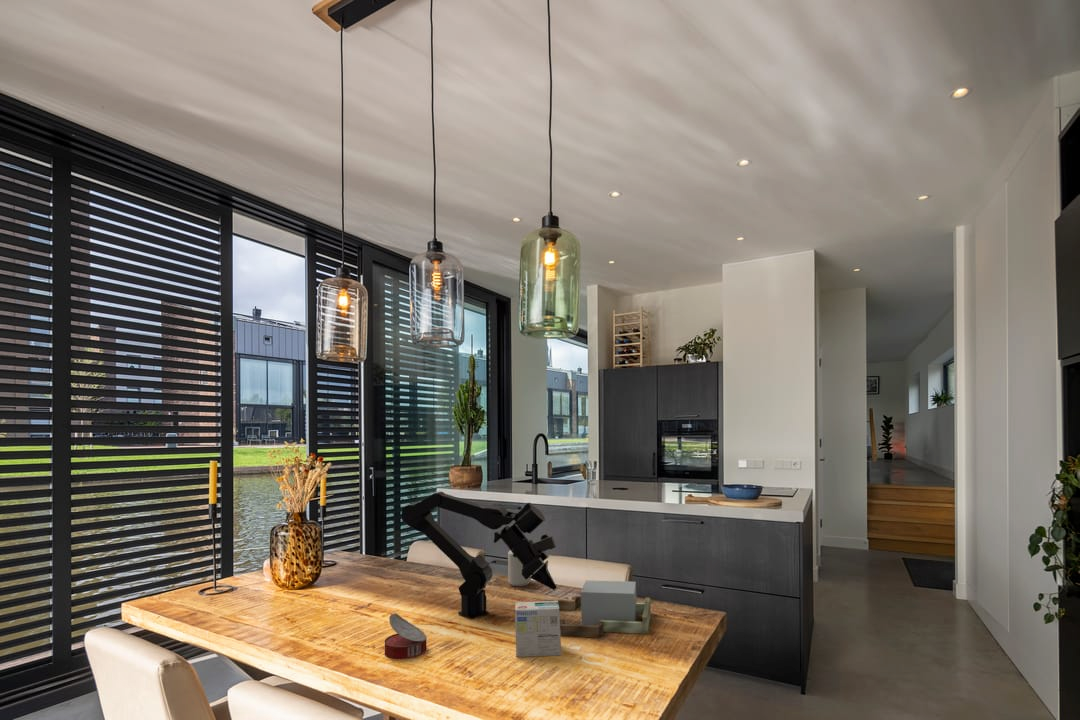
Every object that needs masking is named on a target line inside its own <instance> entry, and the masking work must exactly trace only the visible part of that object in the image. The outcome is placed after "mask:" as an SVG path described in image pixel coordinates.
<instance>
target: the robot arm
mask: <svg viewBox="0 0 1080 720" xmlns="http://www.w3.org/2000/svg"><path fill="white" fill-rule="evenodd" d="M438 508H441V509H443V510H446V511H450V512H453V513H456V514H459V515H461V516H466V517H468V518H471V519H474V520H476V521H477V522H478V523H479V524H481V525H482V526H484V527H486V528H488V529H491V530H493V531H495V530H498V529H500V528H502V527H503V528H502V529H501V530H500V531H495V532H494V533H493V535H494V536H493V544H494V543H495V544H496V543H497V542H499V541H500V540H501V541H502V542H503V543H504V545H505V546H506V547H507V548H508V549H509V551H510V550H511V552H512V553H513V556H514V558H515V557H516V558H517V559H518V560H519V561H520V563H521V564H522V565H523V566H522V567H523V569H522V576H523V577H524V578H525V579H526V580H527V579H528V578H529V577H530V576H531V577H530V578H531V580H533V581H536V582H538V583H539V584H541V585H543V586H545V587H547V588H549V589H551V590H553V591H555V590H556V589H557V587H558V586H557V585H556V583H555V581H554V578H553V576H552V575H551V573H550V571H549V569H548V565H549V559H548V558H549V555H548V554H547V552H546V551H549V550H552V549H556V547H557V544H556V542H555V539H554V537H553V535H550V536H549V535H548V533H546V534H543V535H541V536H540V540H538V541H535V542H534V541H533V540H532V539H528V538H527V536H526V535H525V534H526V533H527V534H532V532H534V531H535V530H536V529H537V528H538V527H540V525H542V523H544V522H545V521H546V517H545V516H544V514H543V513H542V511H541V510H540V509H539V508H537V507H536V506H535V505H533V504H531V502H527V503H526V504H525V505H523V507H522V509H520V510H519V511H518V512H513V511H509V510H507V508H506V507H504V506H501V505H494V504H480V503H476V502H473V501H469V500H467V499H463V498H460V497H456V496H454V495H451V494H447V493H445V492H443V491H438V492H435V493H432V494H431V495H430V496H428V497H426V498H424V499H423V500H421V501H418V502H413V503H410V504H408V505H405V506H404V507H403V508H402V510H401V515H400V516H401V518H400V519H401V521H402V522H403V523H404V524H405V525H406V526H408V527H410V528H411V529H413V530H415V531H418V532H419V533H422V534H423V535H424V536H426V537H427V538H428V539H429V540H430V541H431V543H433V544H434V545H435V546H436V547H437V548H438V549H439V550H440V551H441V552H442V553H443V554H444V555H445V556H446V557H447V558H448V559H449V560H450V561H452V562H453V564H454V565H455V566H456V567H457V568H458V570H459V573H460V574H461V577H462V578H463V580H464V581H463V583H462V584H461V585H460V586H458V591H459V594H460V596H461V598H460V599H461V600H460V603H461V604H460V605H461V607H460V608H461V609H460V610H461V611H458V612H457V614H458V615H459V616H462V617H466V618H468V619H474V618H478V617H483V616H485V615H489V614H490V611H488V610H487V595H486V590H485V589H486V586H487V584H488V583H489V582H490V581H491V580H492V578H493V569H492V567H491V566H490V565H491V562H489V561H488V562H487V560H486V559H485V558H484V557H483V556H482V555H481V554H478V555H476V556H473V555H471V554H470V553H468V552H467V551H466V550H465V548H463V547H462V546H461V545H460V544H459V543H458V542H457V541H456V540H455V539H454V538H453V537H451V535H450V534H448V532H447V531H445V530H444V528H442V527H441V526H440V525H439V524H438V523H437V522H436V521H435V519H434V518H435V517H434V516H433V513H432V512H433V511H434V510H436V509H438ZM514 521H515V522H514ZM513 522H514V523H513ZM512 523H513V524H512ZM510 524H512V525H511V526H509V525H510ZM547 559H548V560H547Z"/></svg>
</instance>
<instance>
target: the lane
mask: <svg viewBox="0 0 1080 720" xmlns="http://www.w3.org/2000/svg"><path fill="white" fill-rule="evenodd" d="M543 601H558V605H559V611H576V608H577V606H580V607H581V595H575V596H572V598H571V599H560V598H559V599H554V598H553V599H552V598H544V599H543ZM636 604H637V614H642V619H641V620H642V621H636V622H635V621H614V620H599V622H598V624H597V626H593V625H582V624H573V623H572V624H569V623H566V618H565V617H560V634H561V637H576V638H577V637H579V638H597V639H599V638H600V637H602V636H603V634H604V632H606V633H620V634H621V633H625V634H642V635H647V634H649V629H650V620H651V613H652V611H651V610H652V609H651V597H645V599H644V602H636Z"/></svg>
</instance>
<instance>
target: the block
mask: <svg viewBox="0 0 1080 720" xmlns="http://www.w3.org/2000/svg"><path fill="white" fill-rule="evenodd" d="M580 596H581V606H580V612H581V617H580V618H581V625H593V626H597V624H598V622H599V620H614V621H635V622H637V618H638V617H637V616H638V613H637V604H636V603H637V583H636V581H622V580H620V581H619V580H585V581H584V584H583V587H581V591H580Z"/></svg>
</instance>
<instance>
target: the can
mask: <svg viewBox="0 0 1080 720" xmlns="http://www.w3.org/2000/svg"><path fill="white" fill-rule="evenodd" d="M507 564H508V565H507V570H508V571H507V574H508V575H507V576H508V577H507V578H508V579H507V580H508V583H509V584H510V585H511V586H513V587H525V586H528V585H529V583H530V582H531V581H532V579H531V578H530V577H531V576H530V577H529V578H528V579H527V580H526V579H525V578H524V577H523V576H522V569H523V567H522V566H523V565H522V564H521V563H520V561H519V560H518V559H517V558H516V557H515V558H514V556H513V553H512V552H511V550H510V549H509V551H508V552H507Z"/></svg>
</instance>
